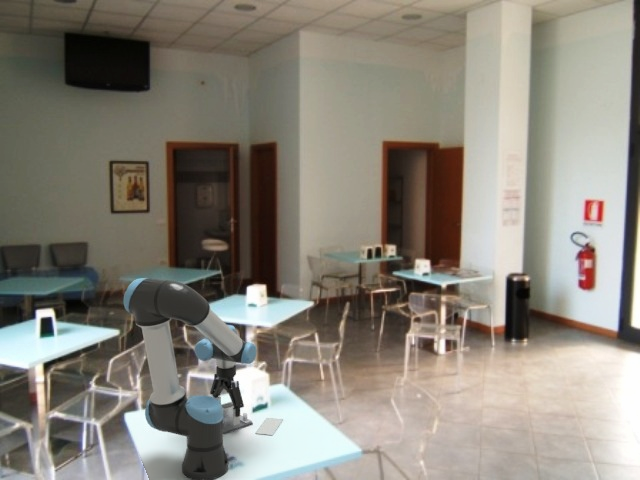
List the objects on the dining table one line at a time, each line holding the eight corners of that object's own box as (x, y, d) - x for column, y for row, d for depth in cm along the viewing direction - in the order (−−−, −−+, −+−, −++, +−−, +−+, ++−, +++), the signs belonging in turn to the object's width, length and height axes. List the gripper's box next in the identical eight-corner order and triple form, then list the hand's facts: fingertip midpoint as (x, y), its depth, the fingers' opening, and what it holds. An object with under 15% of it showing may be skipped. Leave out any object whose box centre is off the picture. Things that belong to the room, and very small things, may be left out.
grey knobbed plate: (217, 436, 217) (217, 426, 217) (200, 426, 226) (200, 416, 226) (252, 424, 228) (252, 415, 227) (235, 415, 237) (235, 406, 236)
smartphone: (254, 433, 219) (266, 417, 234) (254, 435, 219) (266, 419, 234) (272, 435, 218) (283, 419, 232) (272, 436, 218) (283, 420, 232)
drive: (223, 427, 223) (223, 409, 222) (216, 423, 227) (216, 405, 226) (238, 422, 227) (238, 404, 227) (231, 418, 231) (231, 401, 230)
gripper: (252, 371, 217) (253, 426, 220) (217, 356, 236) (218, 406, 238) (235, 375, 213) (236, 431, 215) (201, 359, 231) (201, 411, 233)
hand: (226, 418), depth 227 cm, fingers open, 13 cm apart
